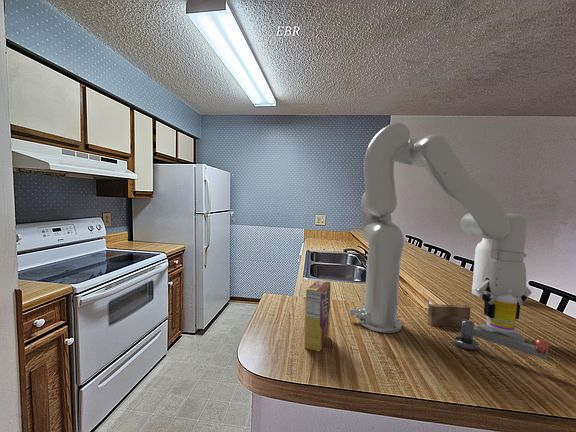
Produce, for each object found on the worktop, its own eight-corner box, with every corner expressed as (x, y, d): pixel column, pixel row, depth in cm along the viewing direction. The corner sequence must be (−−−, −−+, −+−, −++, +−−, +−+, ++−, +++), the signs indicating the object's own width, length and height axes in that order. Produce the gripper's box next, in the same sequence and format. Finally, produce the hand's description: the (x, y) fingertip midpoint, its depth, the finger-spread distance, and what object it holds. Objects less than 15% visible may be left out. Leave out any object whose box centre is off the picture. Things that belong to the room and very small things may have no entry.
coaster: (496, 343, 75) (496, 341, 75) (468, 325, 86) (469, 323, 86) (535, 345, 76) (535, 342, 76) (503, 326, 87) (503, 324, 87)
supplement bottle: (519, 335, 77) (524, 290, 76) (493, 332, 78) (497, 287, 78) (506, 325, 84) (510, 283, 83) (481, 322, 85) (485, 281, 84)
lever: (452, 344, 74) (454, 318, 73) (458, 338, 77) (459, 313, 77) (544, 377, 61) (547, 346, 60) (546, 368, 64) (549, 338, 64)
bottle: (467, 292, 119) (472, 223, 117) (480, 291, 122) (486, 223, 120) (485, 299, 112) (491, 225, 110) (499, 298, 114) (505, 225, 112)
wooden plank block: (430, 325, 85) (432, 306, 85) (427, 322, 87) (428, 304, 87) (468, 326, 86) (470, 307, 85) (464, 323, 88) (466, 305, 87)
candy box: (314, 333, 77) (317, 279, 77) (329, 336, 76) (332, 282, 75) (303, 348, 69) (305, 288, 68) (319, 352, 68) (322, 291, 67)
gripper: (524, 254, 84) (518, 312, 85) (468, 252, 83) (463, 310, 84) (548, 260, 76) (541, 323, 77) (487, 257, 76) (481, 321, 77)
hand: (501, 316), depth 81 cm, fingers closed on supplement bottle, 6 cm apart
